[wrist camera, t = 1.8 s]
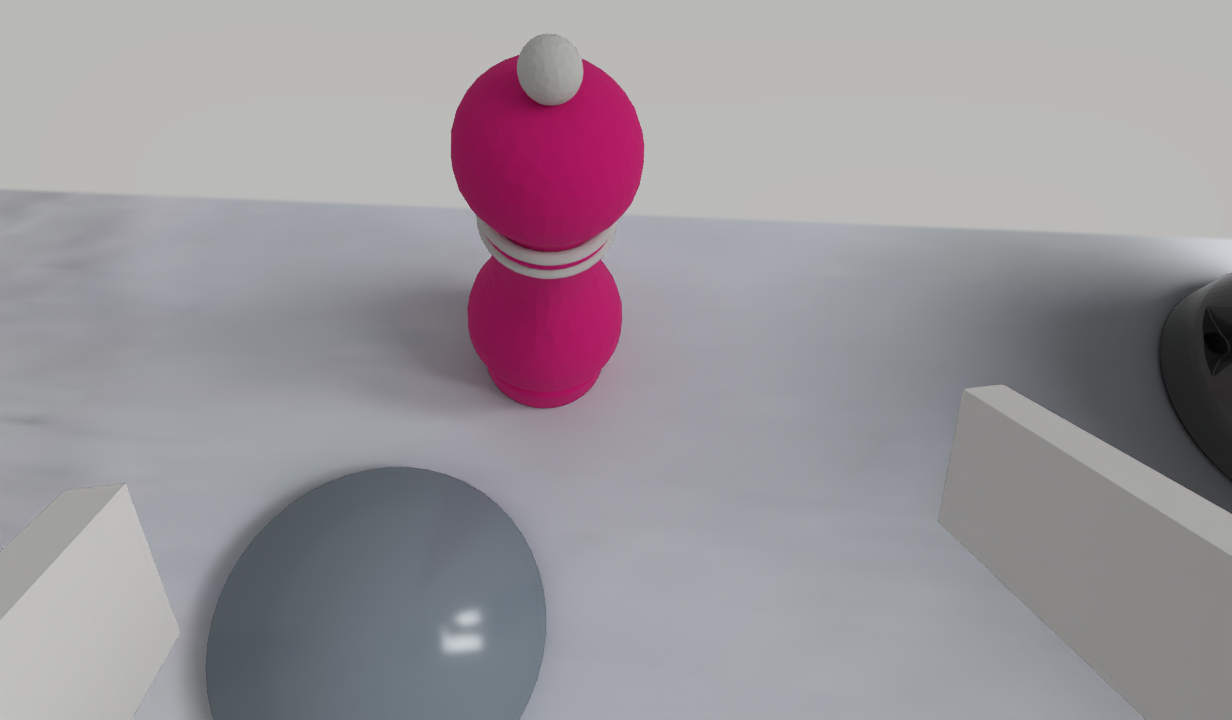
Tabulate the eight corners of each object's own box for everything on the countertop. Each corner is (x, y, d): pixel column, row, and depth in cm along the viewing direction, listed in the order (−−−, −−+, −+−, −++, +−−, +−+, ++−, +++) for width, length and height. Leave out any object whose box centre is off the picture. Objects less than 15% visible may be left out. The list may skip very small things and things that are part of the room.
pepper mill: (539, 446, 33) (538, 208, 15) (447, 348, 35) (345, 22, 16) (640, 359, 36) (745, 62, 17) (550, 270, 37) (560, -87, 19)
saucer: (472, 425, 33) (470, 419, 32) (599, 699, 29) (601, 701, 28) (178, 557, 30) (166, 554, 29) (275, 894, 25) (265, 904, 24)
